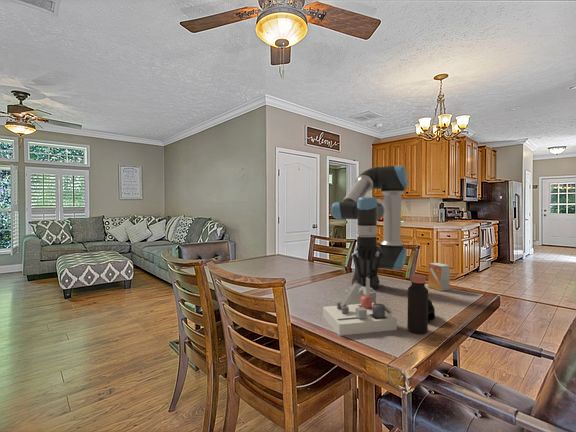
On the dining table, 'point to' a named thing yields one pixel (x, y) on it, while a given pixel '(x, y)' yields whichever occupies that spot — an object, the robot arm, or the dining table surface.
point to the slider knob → (361, 312)
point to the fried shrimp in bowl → (430, 311)
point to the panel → (356, 320)
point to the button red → (366, 302)
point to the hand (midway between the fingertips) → (366, 294)
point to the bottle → (417, 305)
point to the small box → (439, 276)
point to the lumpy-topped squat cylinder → (359, 293)
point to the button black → (378, 311)
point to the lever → (350, 294)
